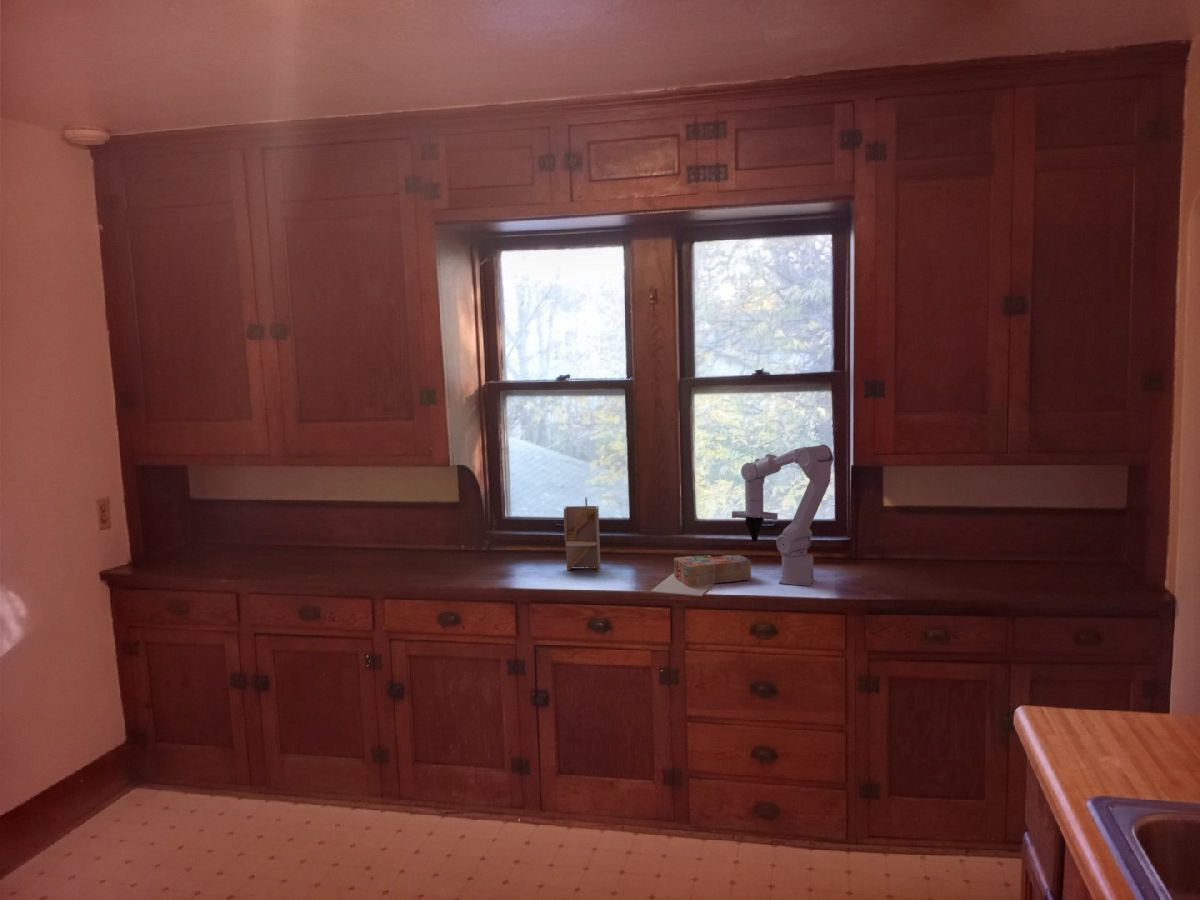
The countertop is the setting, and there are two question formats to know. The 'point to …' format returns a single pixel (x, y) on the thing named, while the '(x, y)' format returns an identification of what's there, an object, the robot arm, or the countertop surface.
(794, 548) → the robot arm
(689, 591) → the mat
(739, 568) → the stack of blocks
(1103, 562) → the countertop surface
